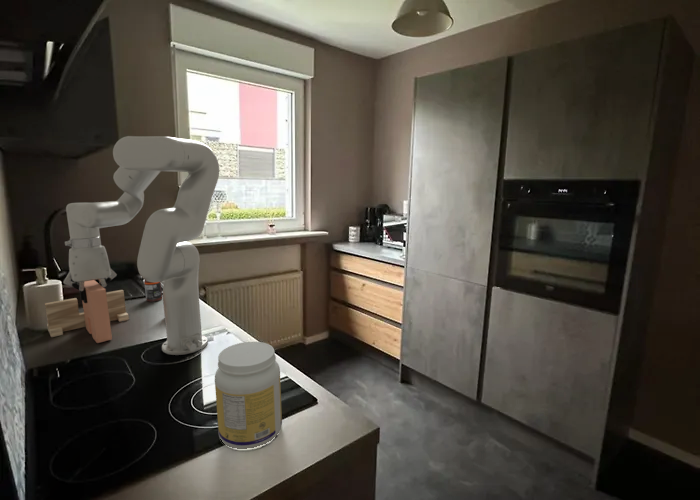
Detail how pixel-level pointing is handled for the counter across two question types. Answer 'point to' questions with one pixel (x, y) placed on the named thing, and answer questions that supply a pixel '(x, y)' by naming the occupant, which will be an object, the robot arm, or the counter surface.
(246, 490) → the counter surface
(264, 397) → the supplement tub
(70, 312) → the slotted stand
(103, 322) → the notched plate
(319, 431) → the counter surface
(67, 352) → the counter surface
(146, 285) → the supplement bottle
